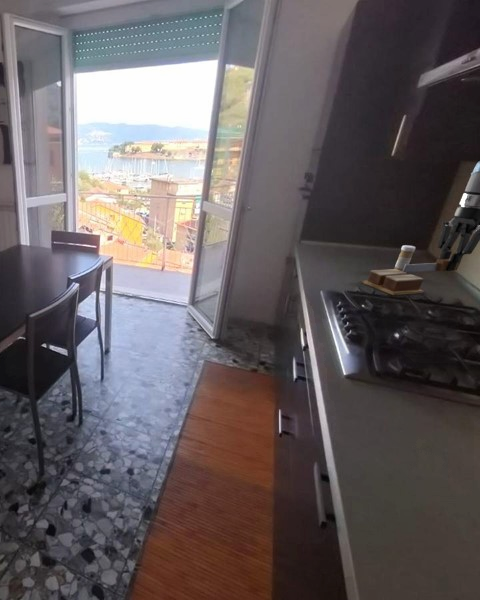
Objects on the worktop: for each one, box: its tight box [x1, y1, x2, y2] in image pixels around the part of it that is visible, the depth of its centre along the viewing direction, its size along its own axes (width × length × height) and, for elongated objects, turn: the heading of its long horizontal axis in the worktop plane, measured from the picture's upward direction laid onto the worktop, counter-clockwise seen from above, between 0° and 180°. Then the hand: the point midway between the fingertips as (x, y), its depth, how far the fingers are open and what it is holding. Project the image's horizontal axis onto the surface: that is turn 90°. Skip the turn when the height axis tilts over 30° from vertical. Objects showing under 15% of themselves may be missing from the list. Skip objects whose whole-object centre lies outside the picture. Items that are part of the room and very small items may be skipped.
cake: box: [362, 268, 424, 296], centre depth 148 cm, size 14×14×6 cm
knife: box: [402, 258, 462, 273], centre depth 134 cm, size 23×2×4 cm, turn 99°
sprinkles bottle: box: [393, 244, 416, 271], centre depth 162 cm, size 5×5×13 cm
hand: (445, 269), depth 136 cm, fingers closed on knife, 2 cm apart
